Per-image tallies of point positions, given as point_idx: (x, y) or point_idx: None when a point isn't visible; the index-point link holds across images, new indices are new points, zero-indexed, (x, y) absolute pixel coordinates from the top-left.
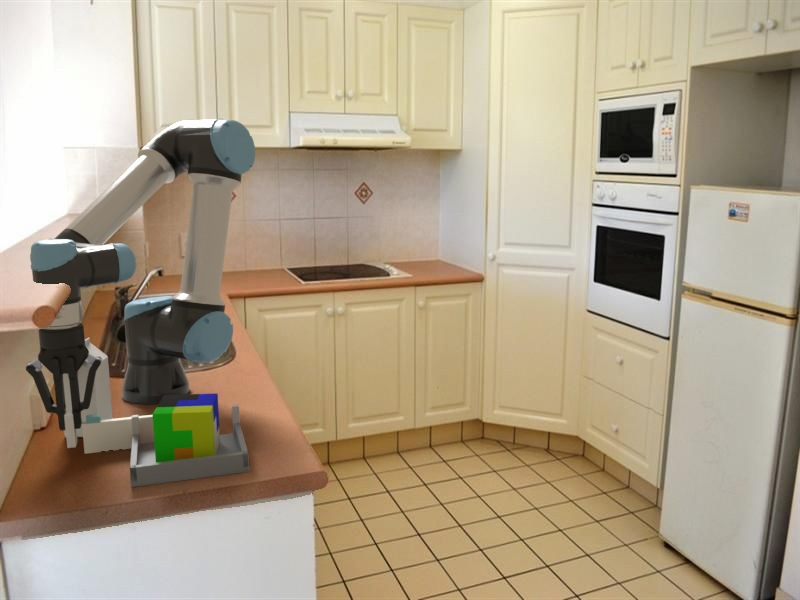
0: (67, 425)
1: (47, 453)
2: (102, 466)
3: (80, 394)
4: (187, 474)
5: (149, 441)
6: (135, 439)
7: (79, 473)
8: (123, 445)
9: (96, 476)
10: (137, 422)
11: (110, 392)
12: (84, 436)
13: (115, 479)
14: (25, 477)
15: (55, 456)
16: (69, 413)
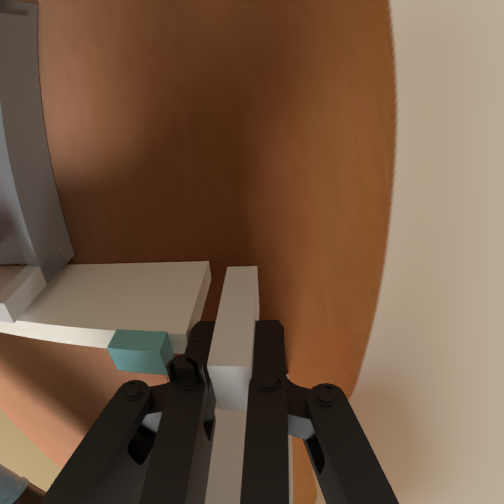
0: (242, 327)
1: (327, 291)
2: (126, 146)
3: (223, 479)
4: None
5: None
6: (18, 224)
7: (191, 100)
8: (96, 269)
9: (130, 69)
10: (4, 289)
11: None
12: (192, 298)
13: (75, 46)
14: (376, 119)
15: (300, 264)
16: (229, 382)
